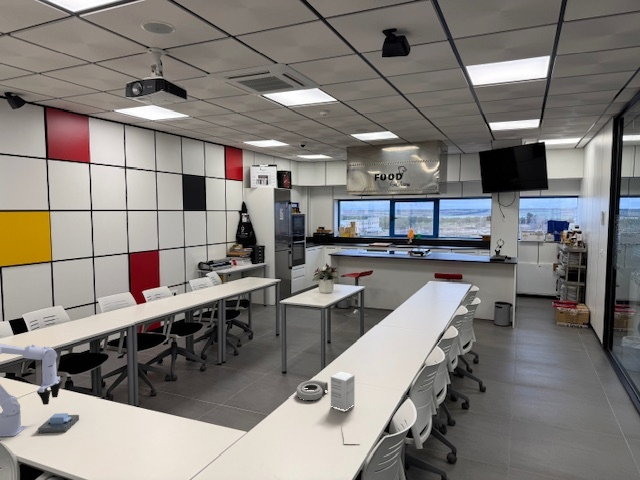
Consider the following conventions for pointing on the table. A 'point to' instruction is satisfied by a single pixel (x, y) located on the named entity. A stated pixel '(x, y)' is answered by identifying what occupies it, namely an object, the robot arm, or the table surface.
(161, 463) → the table surface
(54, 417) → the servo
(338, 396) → the supplement box
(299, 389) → the turbocharger housing
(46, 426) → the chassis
